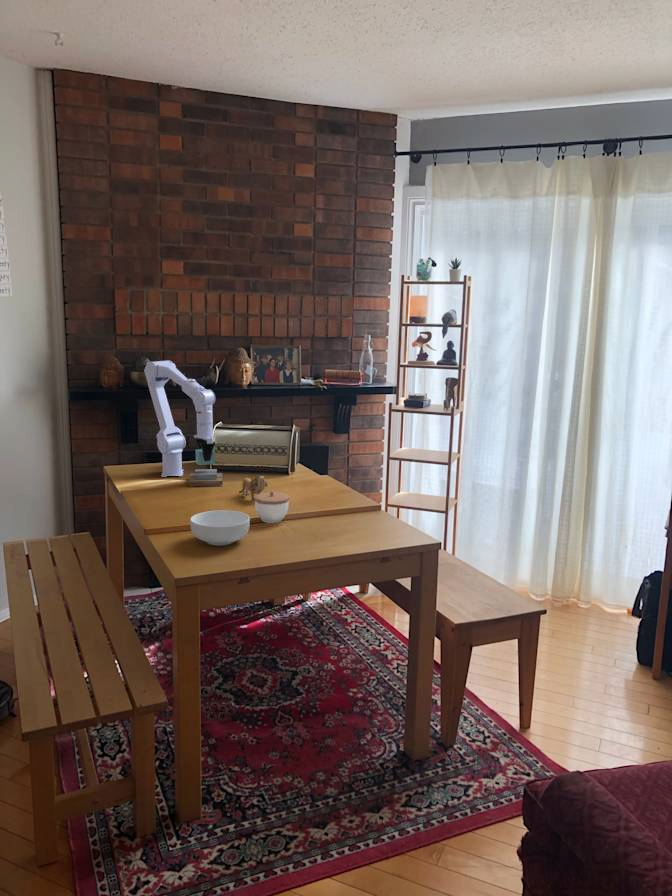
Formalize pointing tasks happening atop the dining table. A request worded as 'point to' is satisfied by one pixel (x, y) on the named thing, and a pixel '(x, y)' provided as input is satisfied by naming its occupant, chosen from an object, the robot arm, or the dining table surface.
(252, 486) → the lion figurine
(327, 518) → the dining table surface
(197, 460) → the teal brick
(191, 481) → the tower base
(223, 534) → the cereal bowl
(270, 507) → the lidded jar
